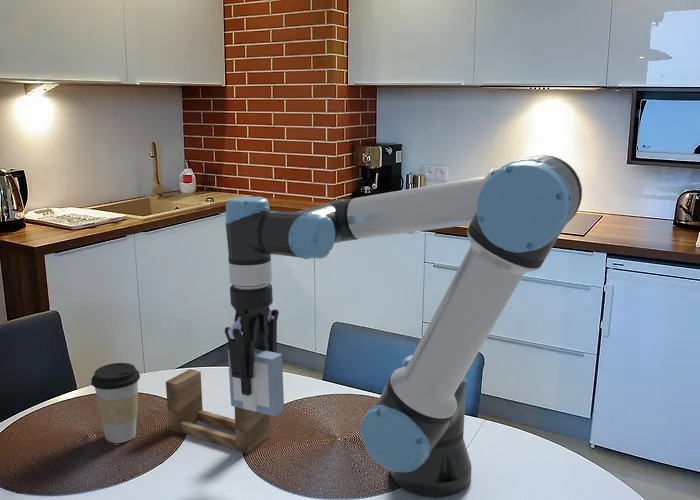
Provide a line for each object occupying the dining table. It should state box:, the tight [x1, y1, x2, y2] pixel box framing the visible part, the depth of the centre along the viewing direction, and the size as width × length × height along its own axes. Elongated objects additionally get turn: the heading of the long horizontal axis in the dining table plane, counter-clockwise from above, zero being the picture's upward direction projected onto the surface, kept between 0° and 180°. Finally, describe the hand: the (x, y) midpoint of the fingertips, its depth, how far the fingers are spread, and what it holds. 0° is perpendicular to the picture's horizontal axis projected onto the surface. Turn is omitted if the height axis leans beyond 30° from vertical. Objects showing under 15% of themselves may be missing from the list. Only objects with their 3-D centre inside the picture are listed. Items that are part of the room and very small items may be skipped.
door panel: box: [227, 348, 285, 417], centre depth 120 cm, size 10×3×11 cm, turn 62°
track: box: [165, 368, 271, 455], centre depth 136 cm, size 21×8×11 cm, turn 62°
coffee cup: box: [90, 362, 141, 443], centre depth 134 cm, size 9×9×15 cm
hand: (257, 404), depth 121 cm, fingers closed on door panel, 3 cm apart
